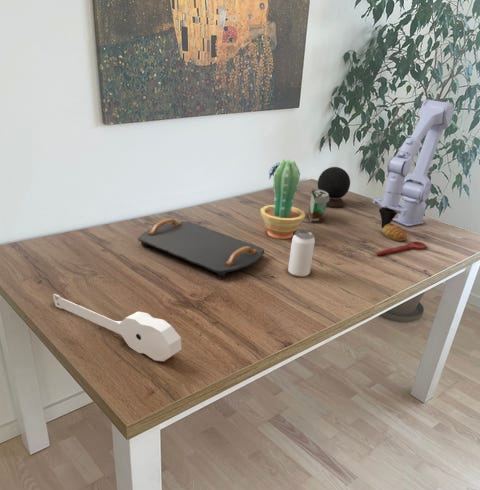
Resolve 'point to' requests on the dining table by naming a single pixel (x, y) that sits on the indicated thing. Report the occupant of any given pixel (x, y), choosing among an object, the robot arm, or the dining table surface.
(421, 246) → the spoon
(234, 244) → the serving tray
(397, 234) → the pastry
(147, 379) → the dining table surface
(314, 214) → the food container
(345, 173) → the black ball on stand
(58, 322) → the dining table surface
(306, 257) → the can
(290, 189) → the potted cactus
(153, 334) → the white toy guitar
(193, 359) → the dining table surface
